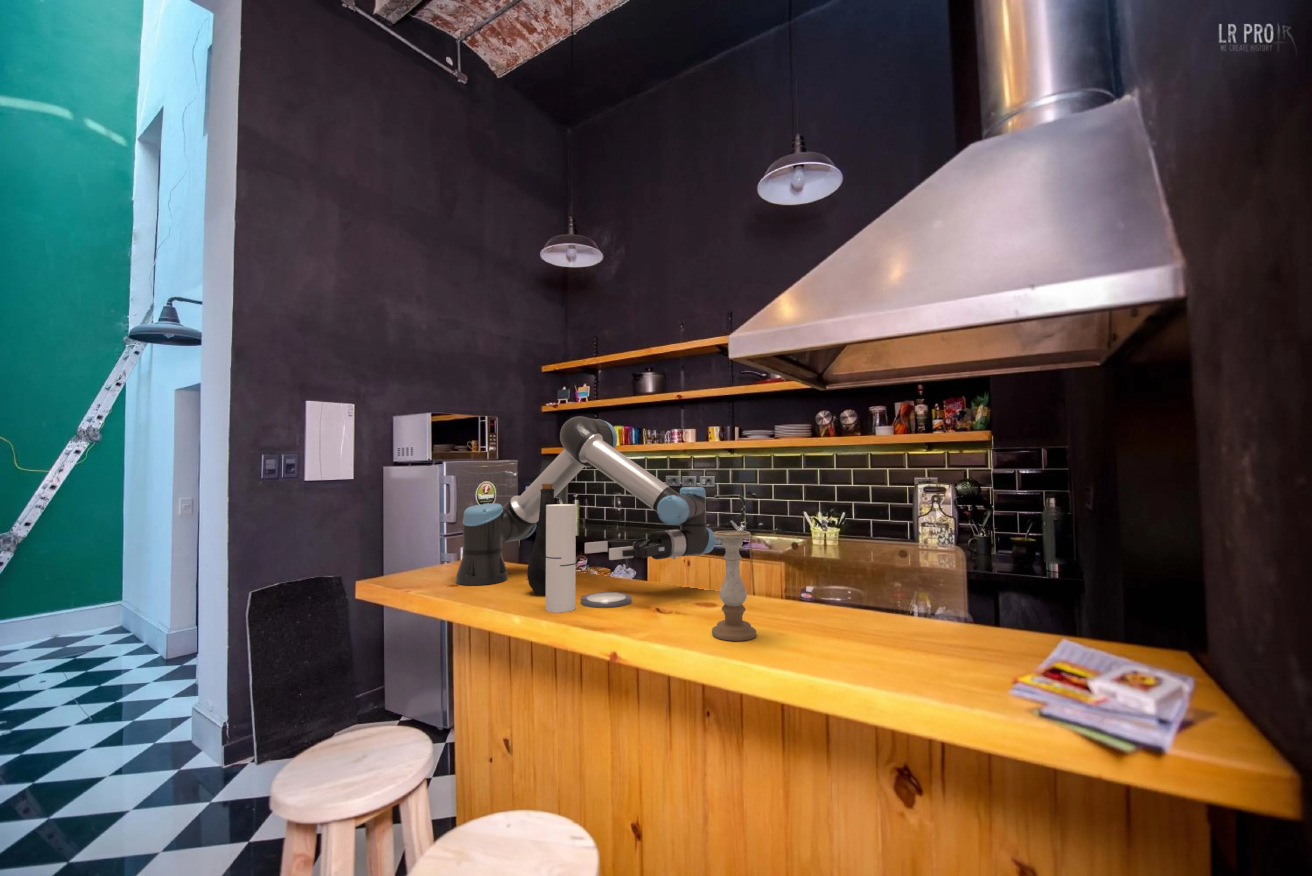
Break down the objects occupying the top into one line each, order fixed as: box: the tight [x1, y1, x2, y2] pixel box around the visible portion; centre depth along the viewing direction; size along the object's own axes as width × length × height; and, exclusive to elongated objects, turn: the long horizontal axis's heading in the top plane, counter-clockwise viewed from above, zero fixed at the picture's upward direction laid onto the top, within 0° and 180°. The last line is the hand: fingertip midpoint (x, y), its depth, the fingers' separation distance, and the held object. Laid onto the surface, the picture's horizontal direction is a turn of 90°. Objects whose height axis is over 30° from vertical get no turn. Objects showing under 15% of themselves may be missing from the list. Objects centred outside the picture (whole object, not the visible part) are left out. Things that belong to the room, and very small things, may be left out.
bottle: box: [526, 484, 555, 597], centre depth 146 cm, size 11×11×30 cm
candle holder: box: [711, 530, 757, 642], centre depth 106 cm, size 9×9×20 cm
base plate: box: [580, 591, 633, 609], centre depth 134 cm, size 13×13×1 cm
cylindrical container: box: [545, 503, 577, 614], centre depth 128 cm, size 7×7×25 cm
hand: (596, 551), depth 133 cm, fingers open, 13 cm apart
